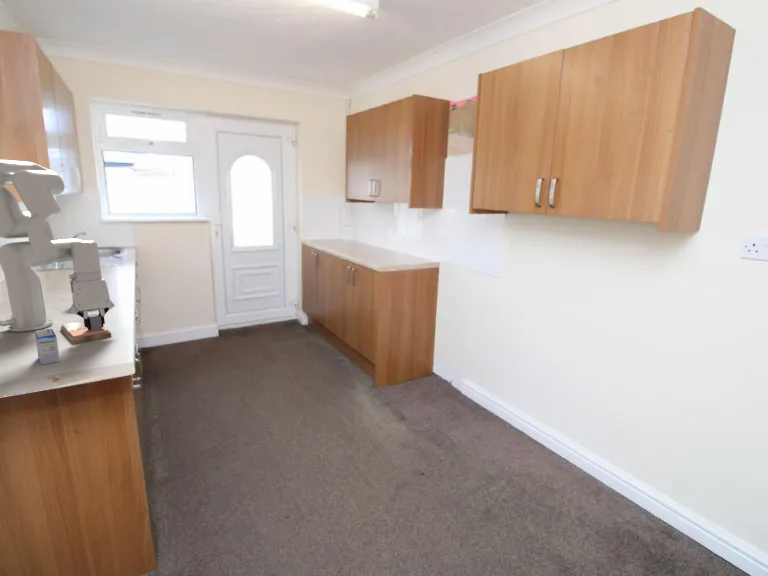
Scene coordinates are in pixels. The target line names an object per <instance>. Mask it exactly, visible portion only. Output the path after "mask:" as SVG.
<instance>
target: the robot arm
mask: <svg viewBox="0 0 768 576" xmlns="http://www.w3.org/2000/svg"><path fill="white" fill-rule="evenodd" d="M5 185H6V186H13V187H14V188H15V190H16V192H17V194H18V195H19V197H20V199H21V201H22V202H23V205H24V206H25V207H26V209H27V211H23V210H22V209H21V207H20V203H19V200H18V198H17V197H16V195H14V193H13V192H12V191H10V190H9V189H8V188H7V187H6V186H5ZM64 191H65V183H64V180H63V179H62V177H61V176H60V175H59V174H58V173H57V172H55V171H53V170H51V169H48V168H47V167H44V166H42V165H39V164H38V163H35V162H31V161H24V160H23V161H22V160H14V159H13V160H10V159H0V238H1V239H7V240H10V239H11V240H12V239H15V240H16V239H27V238H28V240H26V241H17V242H15V241H14V242H9V243H5V244H3V245H1V246H0V267H1V269H2V272H3V276H4V280H5V286H6V288H7V295H8V300H9V301H8V302H9V306H10V312H11V315H10V318H7V319H2V320H0V327H6V326H8V327H7V328H8V331H10V332H13V333H14V332H17V333H19V332H30V331H38V330H43V329H47V328H48V327H50V326H52V325H53V324H54V323H53V320H52V319H48V318H47V313H46V306H45V301H44V295H43V289H42V282H41V279H40V277H39V275H38V274H37V273H36V272H35V271H34V270H33V269H32V268H37V267H41V266H42V267H43V266H49V265H53V264H56V263H62V262H63V263H64V262H69V261H72V267H73V274H69V275H68V278H69V280H71V279H74V280H75V281H74V282H73V293H72V295H73V298H72V304H71V307H70V309H69V313H70V314H72V315H77V316H79V317H81V318H83V321H84V326H85V327H87V329H88V330H90V329H91V324H90V319H89V317H88V315H89V314H88V312H89V311H93V310H97V311H98V315H99V316H101V324H102V327H103V326H104V325H105V324H106V321H105V315H106V314H107V313H108V312H109V311H110V310H112V309H113V308H114V307H115V303H113V301H112V300H111V298H110V293H109V289H108V284H107V281H106V279H104V278H103V277H102V270H101V263H100V255H99V254H100V253H99V252H100V251H99V247H98V243H97V242H96V241H95V240H89V239H85V240H83V239H81V238H76V237H75V238H61V239H55V237H54V234H53V231H52V228H51V225H50V222H49V221H51V220H52V219H54V218H56V217H58V216H59V214H60V213H61V211H62V210H61V209H62V208H61V207H60V205H59V204H58V202H57V200H56V198H55V197H54V196H59V195H62V194H63V192H64Z"/></svg>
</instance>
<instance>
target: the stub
mask: <svg viewBox="0 0 768 576" xmlns="http://www.w3.org/2000/svg"><path fill="white" fill-rule="evenodd" d="M88 317H89V319H90V324H91V329H90V330H88V329H87V328H86V329H80V330H74V331H69V334H70V335H71V336H72V337H73V338H79V337H85V336H90V335H95V334H101V333H106V332H108V331H109V329H107V327H105V326H104V325H103V327H102V324H101V316H99V313H93V314H88Z"/></svg>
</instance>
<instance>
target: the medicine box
mask: <svg viewBox="0 0 768 576" xmlns="http://www.w3.org/2000/svg"><path fill="white" fill-rule="evenodd" d="M34 337H35V343H36V352H37V357H38V359H39V362H40V365H41V366H43V365H48V364H54V363H58V362H60V361H61V360H60V353H59V346H58V339H57V334H56V333H55V331H54V329H53V328H43V329H38V330H34Z"/></svg>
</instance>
